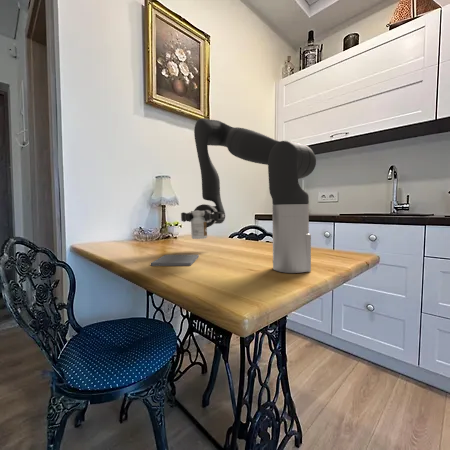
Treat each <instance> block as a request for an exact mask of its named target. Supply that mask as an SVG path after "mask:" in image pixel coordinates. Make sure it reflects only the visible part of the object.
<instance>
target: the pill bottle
mask: <svg viewBox="0 0 450 450" xmlns="http://www.w3.org/2000/svg"><path fill="white" fill-rule="evenodd" d="M191 211H192V215H193V219H191V222H190V231H191V232H190V233H191V239H192V240H200V239H202V240H203V239H207V238H208V227H207V221H205V218H204V216H205V212H204V211H194V210H191Z"/></svg>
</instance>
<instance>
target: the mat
mask: <svg viewBox="0 0 450 450" xmlns="http://www.w3.org/2000/svg"><path fill="white" fill-rule="evenodd" d="M199 258H200V255H199V254H164V255H162V256H160V257H159V258H157V259H156V260H154V261H151V262H150V266H151V267H161V266H162V267H169V266H170V267H183V266H184V267H187V266H189V267H191V266H192V265H193V264H194V263H195V261H197V259H199Z"/></svg>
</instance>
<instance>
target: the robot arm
mask: <svg viewBox="0 0 450 450" xmlns="http://www.w3.org/2000/svg"><path fill="white" fill-rule="evenodd" d="M193 129H194V131H193V132H194V134H193V135H194V142H195V147H196V154H197V159H198V163H199V168H200V177H201V191H202V193H201V194H202V195H201V196H202V199H203V200H205V201H209V202H212V203H214V205H212V204H211V205H210V204H205V203H203V204H200V205H198V206H196V207H195V208H194V209H193V210H191V211H190V212H180V222H183V223H185V222H190V223H191V219H193V215H192V211H204V212H205V216H204V218H205V221H207V228H210V227H212V226H214V224H216V225H217V224H223V223H224V222H225V220H226V211H225V209H224V206H223V202H222V199H221V186H220V184H221V183H220V181H221V180H220V176H219V173H218V171H217V169H216V167H215V166H214V163H213V162H212V160H211V157H210V155H209V148H208V146H215V147H217V146H218V147H225V148H227V151H228V152H229V153H230V154H231V155H232V156H234V157H236V158H239V159H241V160H243V161H246V162H250V163H255V164H261V165H267V170H268V171H267V174H268V186H269V187H268V189H269V195H270V196H271V200H272V269H273V271H276V272H280V273H286V274H296V273H297V274H299V273H305V272H307V273H308V272H312V235H311V233H309V228H310V227H309V226H310V225H309V223H310V222H309V220H310V218H309V217H310V216H309V214H310V213H309V211H310V209H309V208H310V207H309V205H310V204H309V203H310V202H309V197H310V196H309V194H308V193H307V191H305V190H304V189H303V188H302V187H301V185H300V183H299V179H304V178H306V177H308V176H309V175H311V174H312V173H313V172H314V171H315V168H316V165H317V157H316V155H315V152H314V151H313V149H312V148H311V147H309V146H308V145H306V144H303V143H298V142H295V141H291V140H281V141H279V140H277V139H274V138H273V137H270V136H267V135H265V134H263V133H260V132H257V131H255V130H252V129H249V128H248V129H247V128H244V127H235V126H234V127H233V126H230V125H228V124H226V123H225V122H222V121H220V120H216V119H209V118H207V119H206V118H199V119H198V120H196V122H195V125H194V128H193Z"/></svg>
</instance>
